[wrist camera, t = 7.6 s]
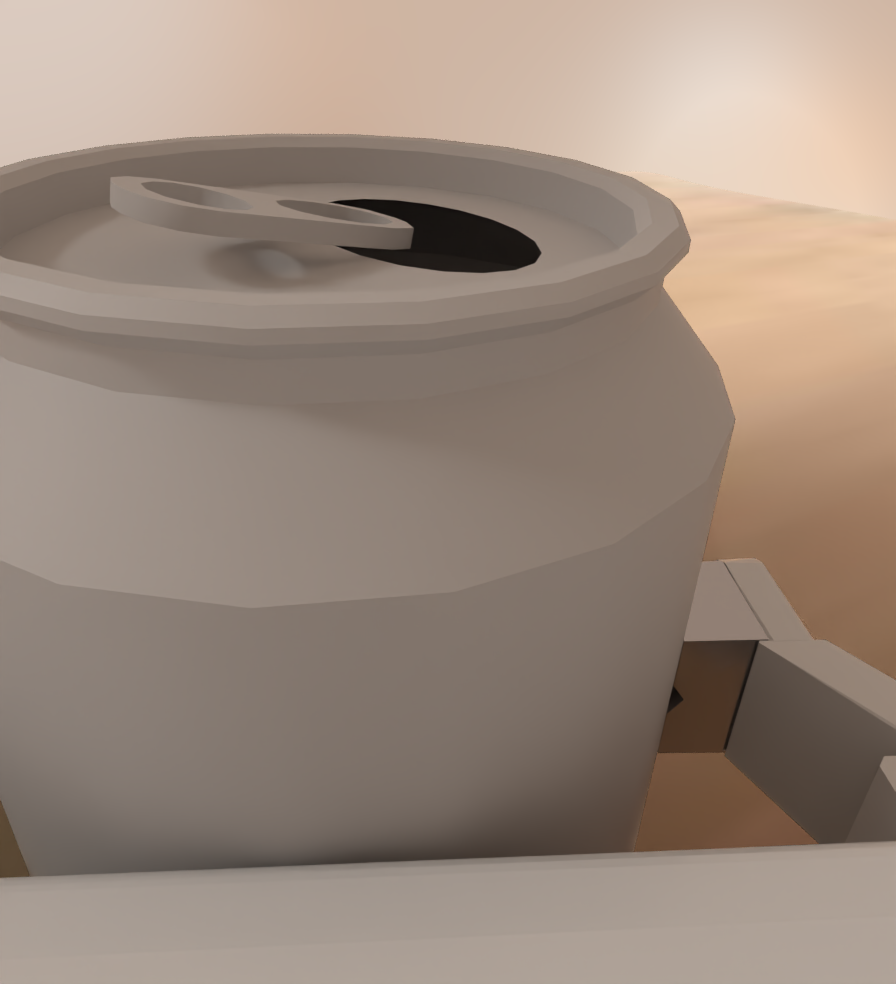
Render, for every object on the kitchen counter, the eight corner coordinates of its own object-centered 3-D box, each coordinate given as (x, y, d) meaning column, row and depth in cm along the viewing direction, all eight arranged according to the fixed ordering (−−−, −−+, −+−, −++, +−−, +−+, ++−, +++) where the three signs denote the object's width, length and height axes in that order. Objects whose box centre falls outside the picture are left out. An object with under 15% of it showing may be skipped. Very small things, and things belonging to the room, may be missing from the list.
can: (695, 1015, 13) (983, 206, 6) (236, 1449, 9) (-171, 478, 3) (417, 713, 18) (427, 96, 11) (49, 903, 14) (-241, 131, 8)
